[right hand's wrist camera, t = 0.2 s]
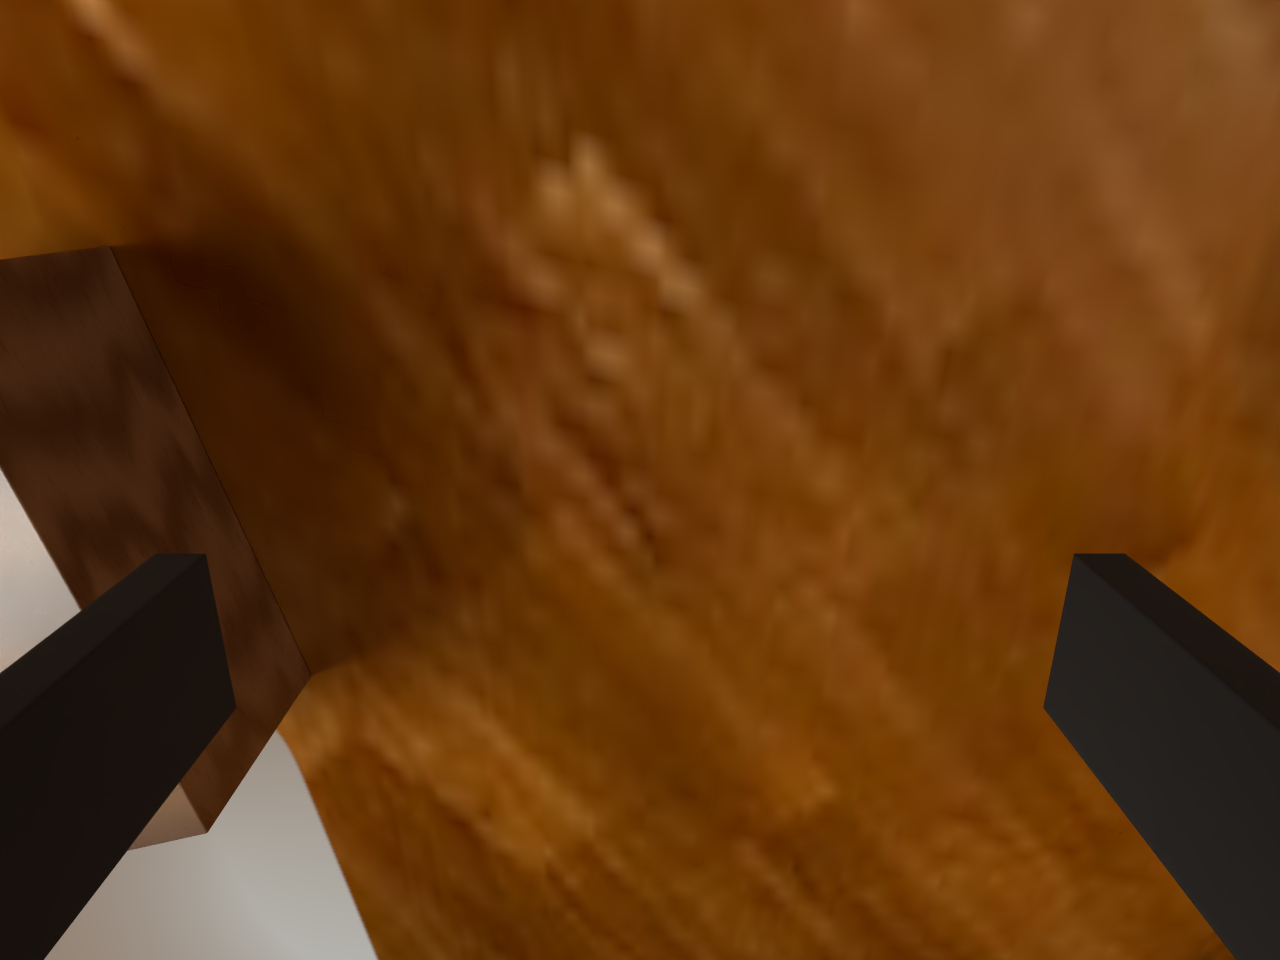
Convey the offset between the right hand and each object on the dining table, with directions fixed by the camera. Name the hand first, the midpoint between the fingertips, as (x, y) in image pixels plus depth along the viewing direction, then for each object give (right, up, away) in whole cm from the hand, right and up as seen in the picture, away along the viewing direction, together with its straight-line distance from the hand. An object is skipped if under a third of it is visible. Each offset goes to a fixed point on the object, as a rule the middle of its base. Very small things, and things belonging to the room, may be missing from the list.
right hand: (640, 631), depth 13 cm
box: (-24, +1, +29) cm, 38 cm away
